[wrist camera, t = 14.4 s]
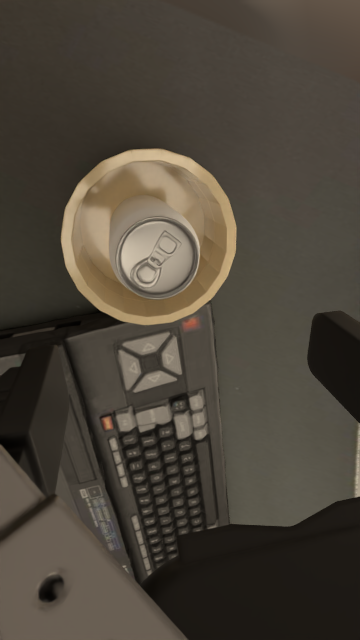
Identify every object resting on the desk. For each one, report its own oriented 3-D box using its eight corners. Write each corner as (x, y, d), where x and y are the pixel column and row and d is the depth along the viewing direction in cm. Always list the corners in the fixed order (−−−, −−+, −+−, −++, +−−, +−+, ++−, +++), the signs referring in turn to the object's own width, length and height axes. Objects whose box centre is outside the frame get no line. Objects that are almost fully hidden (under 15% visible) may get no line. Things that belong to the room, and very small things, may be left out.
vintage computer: (232, 531, 56) (248, 585, 48) (53, 575, 53) (42, 639, 46) (204, 284, 38) (223, 311, 30) (-67, 333, 35) (-116, 376, 28)
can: (96, 236, 33) (89, 272, 22) (134, 179, 31) (147, 186, 21) (150, 273, 35) (168, 321, 25) (188, 221, 34) (224, 248, 23)
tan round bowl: (60, 155, 30) (44, 152, 23) (210, 149, 32) (239, 145, 25) (84, 299, 36) (78, 333, 29) (210, 286, 38) (234, 315, 31)
